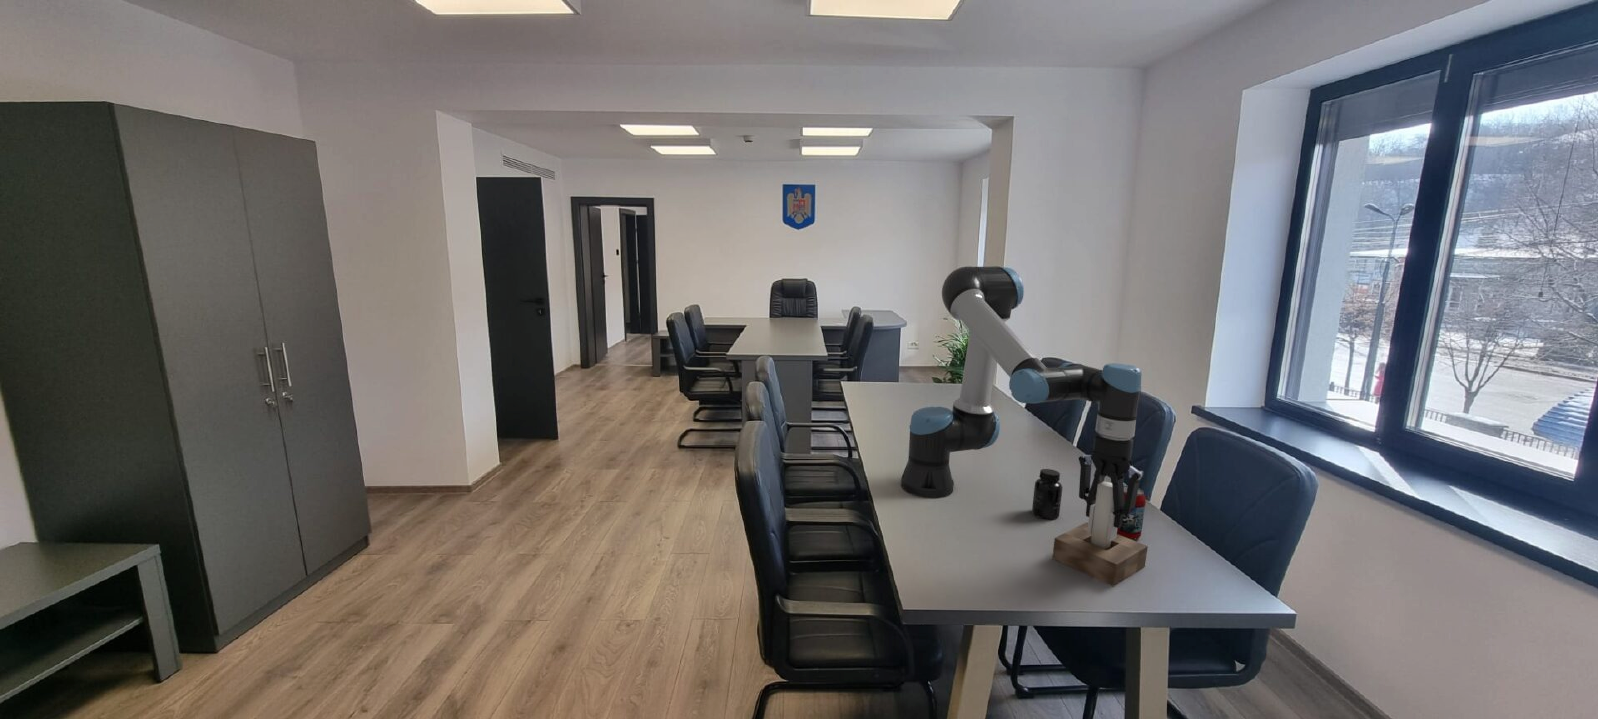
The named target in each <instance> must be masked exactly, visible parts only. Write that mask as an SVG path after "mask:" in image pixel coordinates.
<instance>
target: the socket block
mask: <svg viewBox="0 0 1598 719" xmlns="http://www.w3.org/2000/svg"><path fill="white" fill-rule="evenodd" d="M1088 523H1089V522H1085V523H1082V524H1080V525H1078V526H1076V527H1074V528H1073V529H1071V530H1067V531H1066V532H1064V533H1062V534H1060V535H1058V536H1056V537H1054V539H1053V540H1054V542H1053V548H1052V549H1053V550H1052V559H1053V560H1056V561H1058V562H1060V563H1062V564H1064V565H1067V566H1069V567H1071V568H1073V569H1075V570H1077V571H1080V572H1082V573H1084V574H1086V575H1088V576H1090V577H1092V578H1095V579H1097V580H1100V581H1101V582H1104V583H1106V584H1108V585H1110V586H1112V587H1115V586H1117V585H1118V584H1120V583H1122V582H1123V581H1124V580H1126V579H1128V578H1129V577H1131V576H1132V575H1133V574H1136V573H1137V572H1139V571H1140V570H1142V569H1144V568H1145V567H1146V562H1147V554H1148V547H1149V546H1148V545H1146V544H1143V543H1142V542H1141V543H1140V542H1138V541H1135V539H1133V540H1131V539H1128V538H1126V537H1123V536H1121V535H1118V534H1117V536H1116V539H1114V540H1112V541H1111V545H1110V549H1109V550H1104V549H1102V548H1100V547H1097V546H1095V545H1092V544H1090V543H1091V535H1092V533H1091V534H1090V533H1088V532H1087V531H1088Z"/></svg>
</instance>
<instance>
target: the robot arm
mask: <svg viewBox="0 0 1598 719" xmlns="http://www.w3.org/2000/svg"><path fill="white" fill-rule="evenodd" d="M941 288H942V289H941V298H942V303H943V304H944V307H945V308H946V310H947V311H948V313H949V314H950V316H951V317H953V319H955V320H957V321H961V322H962V323H963V325H964V326H966V327H967V329H968V330H969V335H968V341H967V342H968V343H967V347H966V355H965V361H964V367H963V375H962V381H961V387H960V393H959V394H960V395H959V398H957V399H955V400H954V401H953V405H952V410H951V409H949V408H947V407H943V406H927V407H922V408H919V409H917V410H915V411H914V412H913V414H912V415H911V418H910V424H909V440H908V442H909V443H908V457H907V458H908V459H907V463H906V465H905V468H904V470H903V473H902V475H901V478H900V487H901V489H902V490H904V491H905V492H906V493H909V494H911V495H914V496H918V497H923V498H931V499H933V498H935V499H937V498H938V499H939V498H943V497H944V498H945V497H948V496H950V495H951V494H953V493H954V489H955V488H954V487H955V484H954V482H955V481H954V479H953V476H952V471H951V467H950V455H951V453H955V452H963V451H970V450H971V451H972V450H975V451H977V450H981V449H985V448H989V447H991V446H992V445H993V444H994V443H995V442H996V441H997V439H998V438H999V435H1000V431H1001V422H999V416H998V414H997V413H996V412H995V408H994V406H993V405H992V404H991V398H992V397H991V396H992V394H993V393H992V392H993V387H994V382H995V381H994V380H995V374H996V368H997V364H998V365H999V366H1000V367H1001V369H1002V370H1003V371H1004V372H1005V373H1006V375H1007V376H1008V377H1009V378H1010V379H1009V383H1008V385H1009V386H1008V387H1009V390H1010V391H1011V396H1012V398H1014V400H1015V401H1017V402H1018V403H1021V404H1040V403H1048V402H1057V401H1061V402H1062V401H1070V400H1071V401H1072V400H1083V401H1088V402H1091V403H1093V404H1096V405H1097V404H1098V405H1097V406H1098V407H1097V416H1096V423H1095V432H1096V433H1095V434H1094V439H1093V448H1092V449H1093V451H1092V452H1091V454H1082V455H1081V456H1079V457H1078V462H1079V465H1080V472H1079V473H1080V475H1079V488H1078V498H1079V499H1081V500H1084V501H1085V503H1086V508H1085V509H1086V510H1085V516H1086V517H1087V518H1088V522H1087V523H1088V531H1087V532H1088V533H1090V534H1091V533H1092V526H1093V518H1094V510H1095V502H1096V494H1097V486H1098V484H1099V483H1101V482H1105V478H1106V477H1108V478H1110V483H1112V487H1113V502H1114V512H1111V513H1110V519H1109V526H1108V534H1107V540H1108V541H1112V540H1114V539H1116V536H1117V528H1119V527H1121V526H1122V523H1123V515H1124V514H1125V515H1128V514H1130V513H1132V512H1133V511H1134V508H1135V503H1136V498H1137V493H1138V488H1139V486H1140V484H1141V483H1140V482H1141V480H1142V479H1143V477H1144V476H1145V472H1144V471H1143V470H1138V469H1137V468H1136V467H1134V466H1133V462H1132V459H1131V458H1132V455H1133V447H1134V439H1133V437H1135V433H1136V425H1137V424H1136V423H1137V415H1138V414H1137V413H1138V405H1139V400H1140V396H1141V391H1142V376H1143V375H1142V371H1141V369H1140V368H1139V367H1137V366H1134V365H1131V364H1124V363H1107V364H1104V366H1103V367H1102V369H1099V368H1095V367H1091V366H1087V365H1084V364H1082V363H1075V362H1074V363H1073V362H1064V363H1062V364H1061V365H1060V366H1059V365H1058V366H1057V367H1056V366H1055V367H1047V366H1046V365H1045V364H1044V363H1043V362H1042V361H1041V360H1040V359H1039V358H1038V357H1037V356H1036V355H1035V354H1034V352H1032V350H1031V349H1030V348H1029V347H1028V346H1027V345H1026V344H1025V343H1024V341H1023V340H1022V339H1021V338H1020V337H1019V336H1018V335H1017V334H1016V333H1015V332H1014V331H1013V329H1011V328H1010V326H1009V325H1008V324H1007V323H1006V322H1007V321H1009V320H1010V319H1011V316H1012V314H1011V313H1012V310H1014V309H1016V308H1018V307H1019V305H1021V303H1022V301H1023V300H1024V296H1025V290H1024V283H1023V279H1021V277H1020V274H1019V273H1018V272H1017V271H1016V270H1015V269H1013V268H1011V267H1007V266H1006V267H1003V266H969V265H968V266H962V267H959V268H956V269H954V270H953V271H952V272H950V273H949V274H948V275H947V277H946V278H945V279H944V281H943V284H942V286H941ZM1092 464H1093V466H1094V468H1095V471H1094V473H1093V480H1092V483H1091V476H1092ZM1126 473H1128V478H1129V480H1128V482H1127V486H1128V488H1127V493H1126V498H1125V500H1124V486H1125V485H1124V482H1125V475H1126ZM1139 489H1140V488H1139Z"/></svg>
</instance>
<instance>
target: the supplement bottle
mask: <svg viewBox="0 0 1598 719" xmlns="http://www.w3.org/2000/svg"><path fill="white" fill-rule="evenodd" d="M1060 476H1061V473H1060V472H1059V471H1057V470H1055V469H1050V468H1042V469H1040V473H1039V478H1038V479H1036V480H1035V482H1034V488H1033V497H1032V498H1033V499H1032V506H1031V507H1032V508H1031V511H1032V514H1033V515H1034V516H1036V517H1038V518H1041V519H1045V520H1055V519H1058V518H1059V516H1060V512H1061V506H1062V504H1061V503H1062V496H1063V485H1062V483H1061V482H1060V479H1061V478H1060Z"/></svg>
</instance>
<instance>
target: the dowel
mask: <svg viewBox="0 0 1598 719" xmlns="http://www.w3.org/2000/svg"><path fill="white" fill-rule="evenodd" d="M1111 512H1114V502H1113V487H1112V483H1111V481H1110V482H1108V481H1103V482H1101V483H1099V484H1098V486H1097V494H1096V502H1095V510H1094V518H1093V526H1092V535H1091V543H1090V544H1092V545H1095V546H1097V547H1100V548H1102V549H1104V550H1109V549H1110V545H1111V541H1108V540H1107V534H1108V526H1109V519H1110V513H1111Z"/></svg>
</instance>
